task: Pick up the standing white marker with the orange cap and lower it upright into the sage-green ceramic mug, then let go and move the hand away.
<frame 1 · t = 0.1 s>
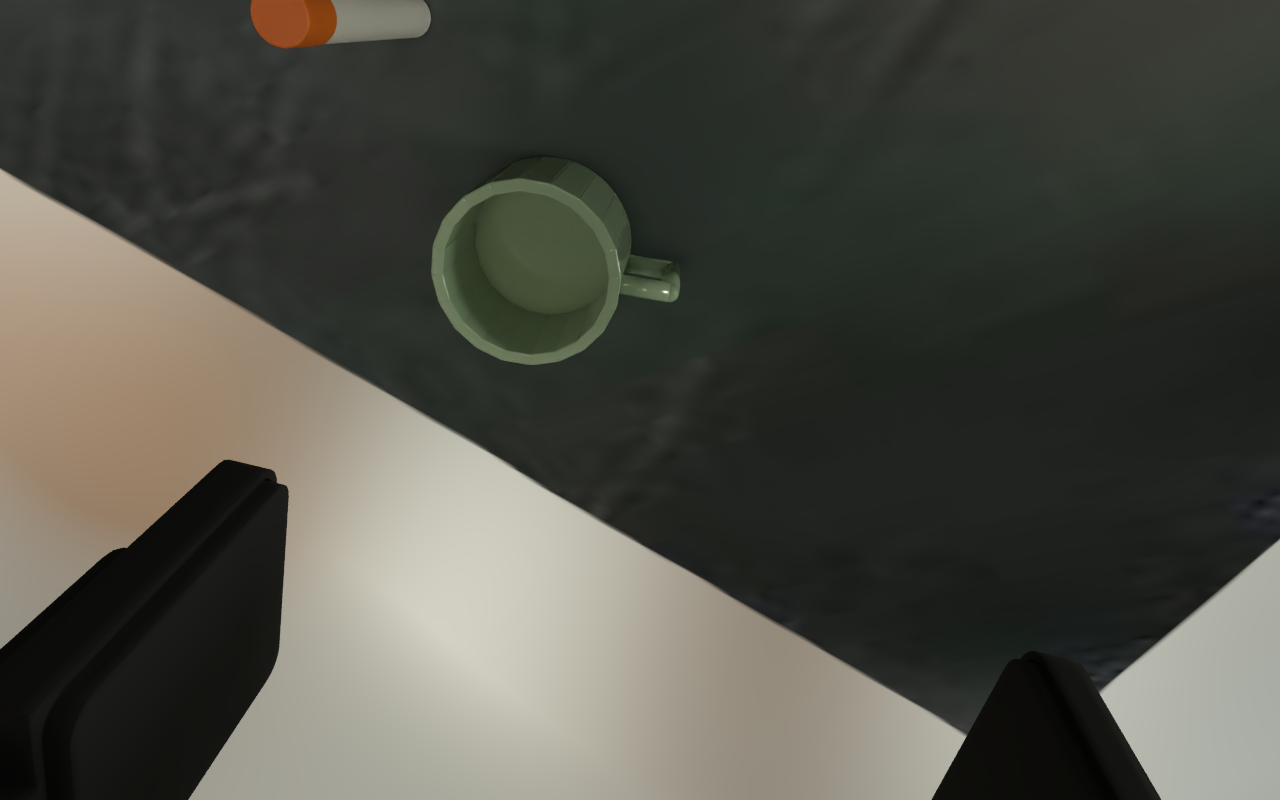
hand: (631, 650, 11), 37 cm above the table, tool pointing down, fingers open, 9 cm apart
mug: (549, 241, 47), on the table
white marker: (411, 16, 42), on the table
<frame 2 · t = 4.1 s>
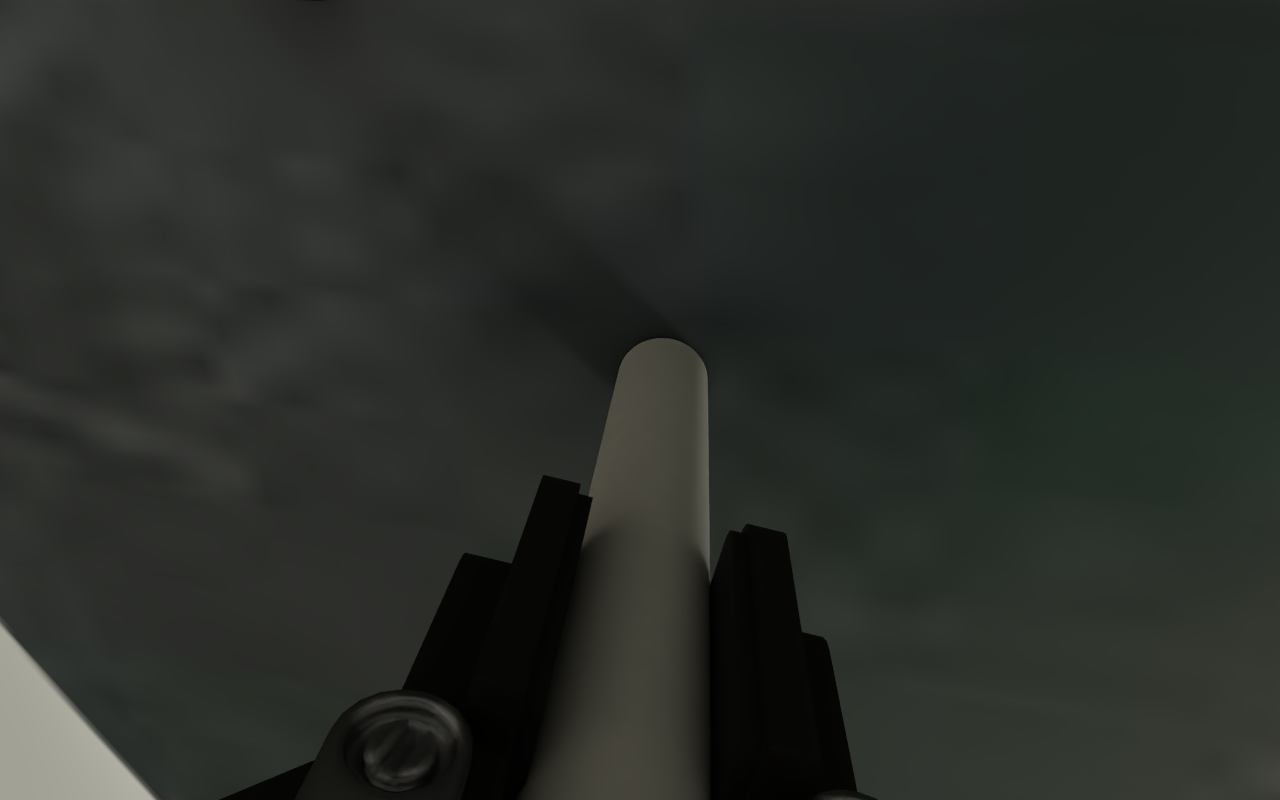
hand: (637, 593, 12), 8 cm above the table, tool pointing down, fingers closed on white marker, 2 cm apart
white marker: (662, 378, 19), on the table, touching gripper
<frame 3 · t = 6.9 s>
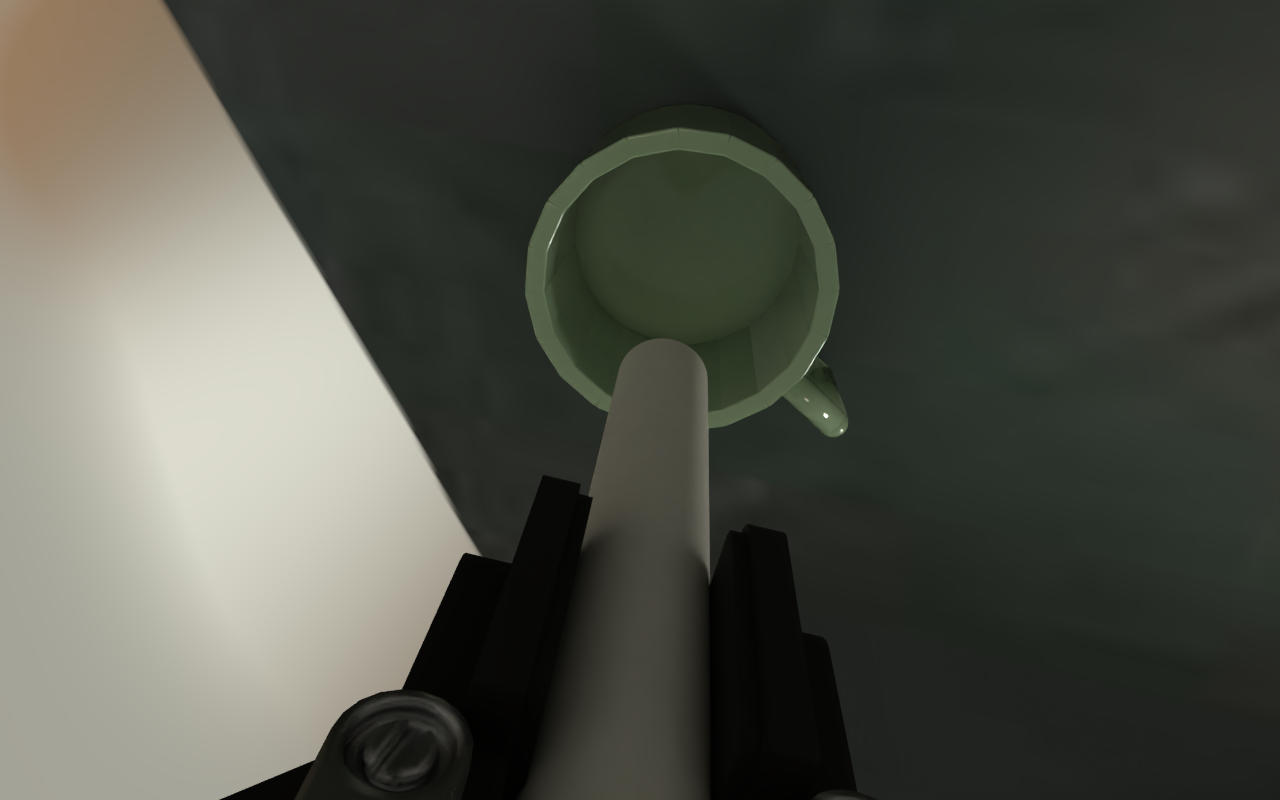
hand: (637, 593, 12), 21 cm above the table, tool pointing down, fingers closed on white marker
mug: (685, 234, 31), on the table
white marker: (662, 379, 19), point 14 cm above the table, touching gripper
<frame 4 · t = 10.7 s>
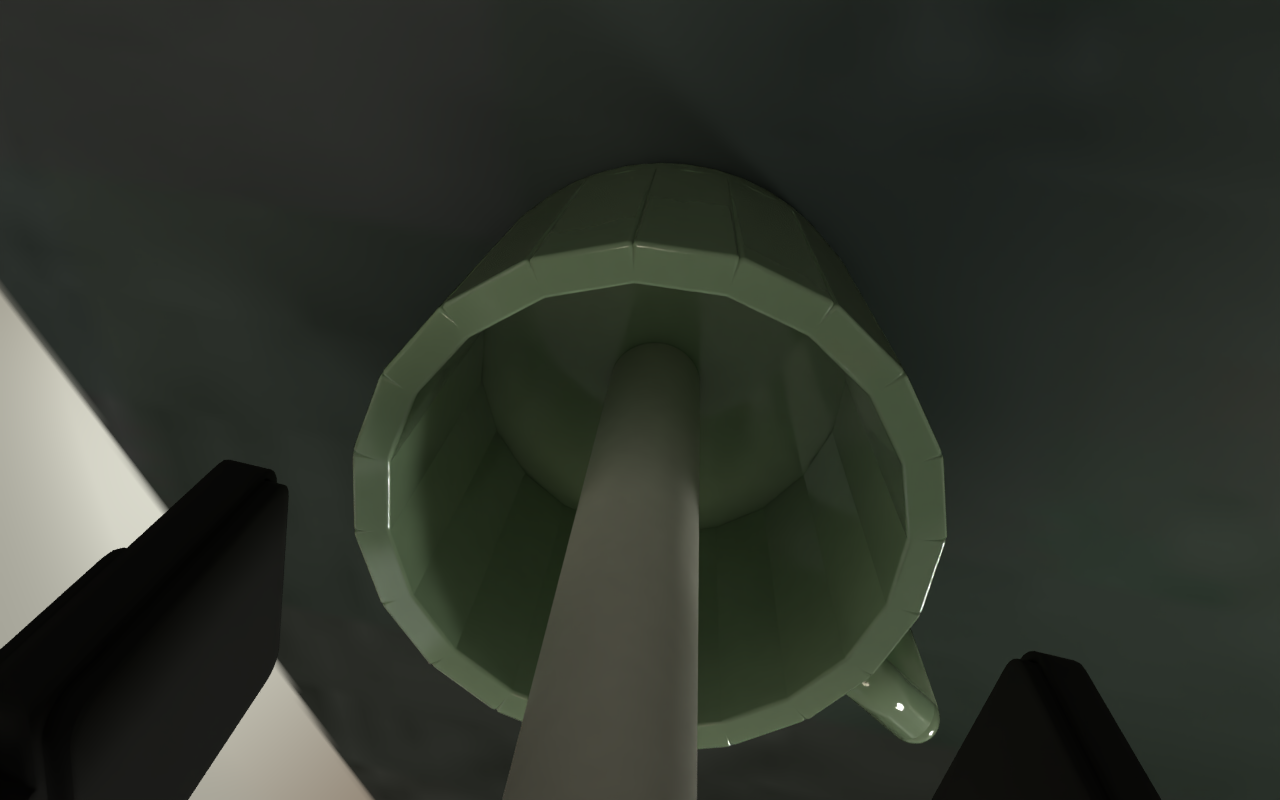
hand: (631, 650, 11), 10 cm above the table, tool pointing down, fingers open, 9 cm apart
mug: (662, 366, 19), on the table
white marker: (655, 383, 19), point 1 cm above the table, touching mug
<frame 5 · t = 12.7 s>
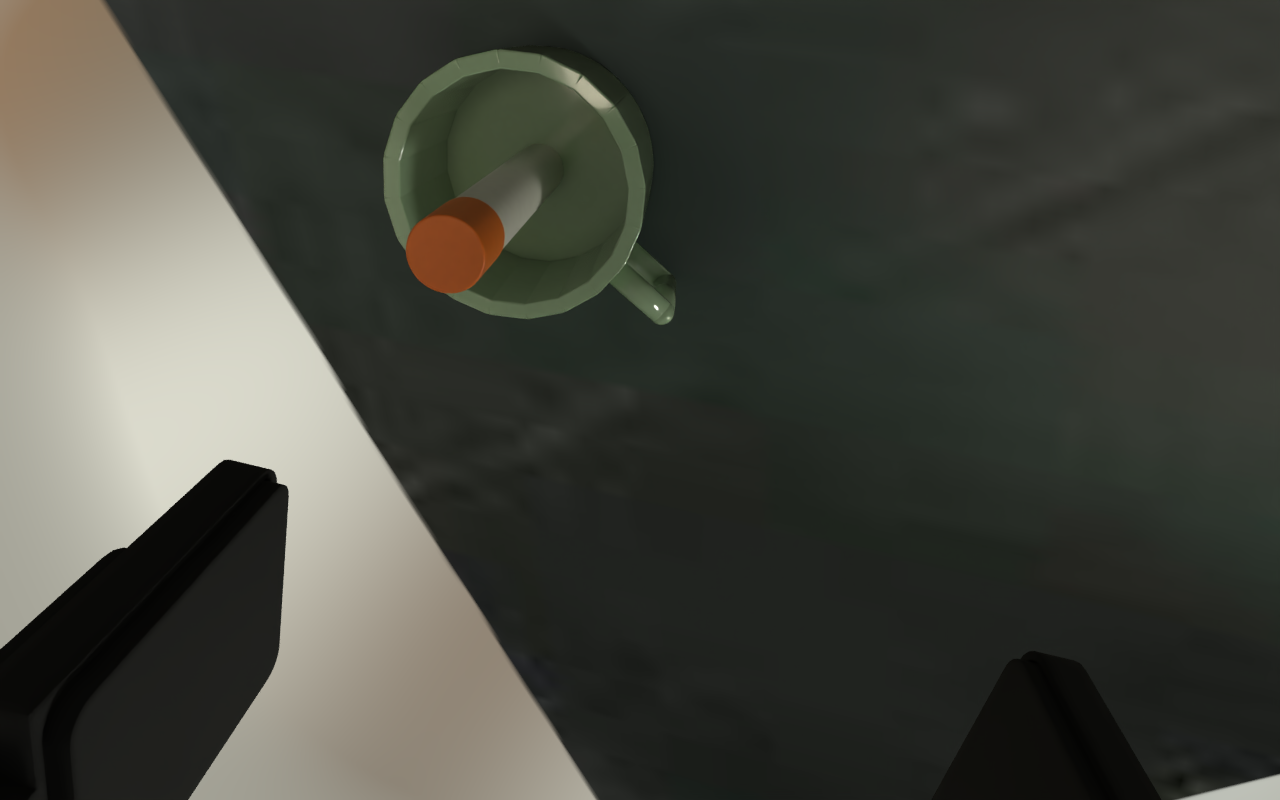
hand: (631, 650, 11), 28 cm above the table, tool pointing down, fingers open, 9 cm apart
mug: (545, 163, 35), on the table
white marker: (539, 168, 35), point 1 cm above the table, touching mug
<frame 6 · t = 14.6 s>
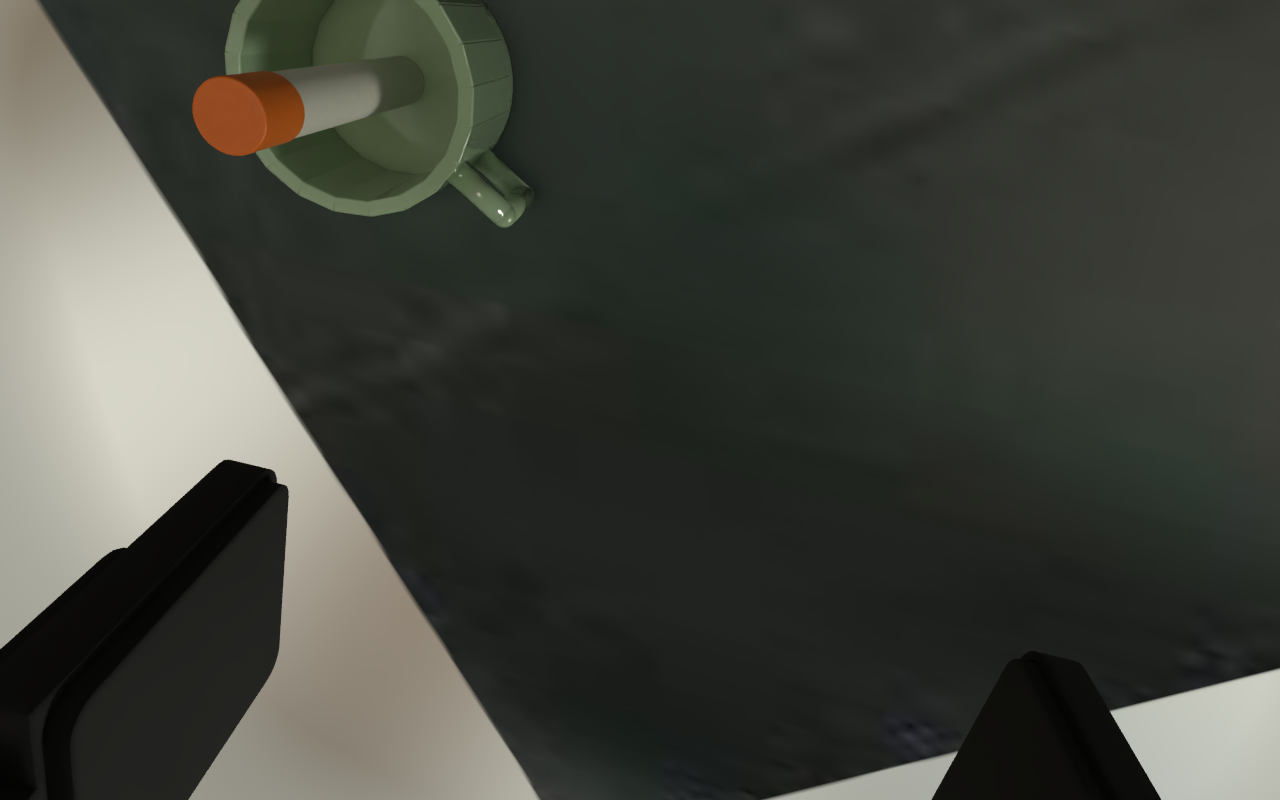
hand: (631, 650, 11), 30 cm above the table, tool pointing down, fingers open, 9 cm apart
mug: (410, 77, 37), on the table
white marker: (401, 80, 36), point 1 cm above the table, touching mug
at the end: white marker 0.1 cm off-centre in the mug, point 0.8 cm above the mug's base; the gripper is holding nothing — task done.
